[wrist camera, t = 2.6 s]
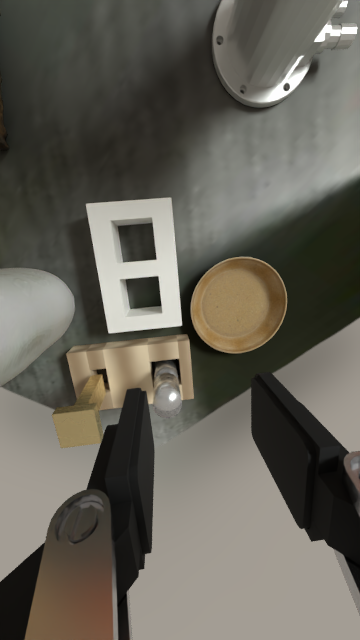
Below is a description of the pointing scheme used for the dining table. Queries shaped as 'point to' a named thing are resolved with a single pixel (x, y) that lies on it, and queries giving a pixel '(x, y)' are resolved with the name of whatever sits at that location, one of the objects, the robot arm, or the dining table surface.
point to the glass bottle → (30, 317)
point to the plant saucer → (238, 305)
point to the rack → (135, 263)
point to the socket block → (130, 366)
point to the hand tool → (2, 124)
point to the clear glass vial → (166, 389)
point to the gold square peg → (82, 416)
